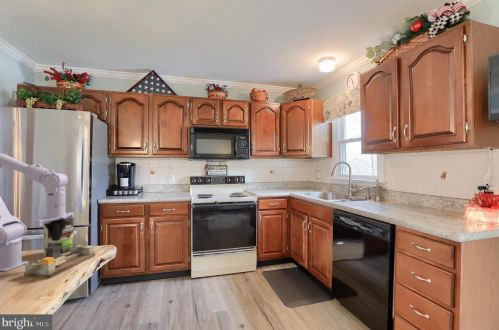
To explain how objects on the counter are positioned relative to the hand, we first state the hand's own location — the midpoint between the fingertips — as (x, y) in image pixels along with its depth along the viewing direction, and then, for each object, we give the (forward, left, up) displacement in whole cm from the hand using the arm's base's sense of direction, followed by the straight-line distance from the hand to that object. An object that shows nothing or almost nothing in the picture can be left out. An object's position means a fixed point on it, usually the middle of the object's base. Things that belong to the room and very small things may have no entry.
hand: (56, 240), depth 93 cm
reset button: (+6, -9, -5) cm, 12 cm away
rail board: (+3, 0, -9) cm, 10 cm away
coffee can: (-10, +11, -10) cm, 18 cm away
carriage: (+3, -4, -7) cm, 9 cm away
